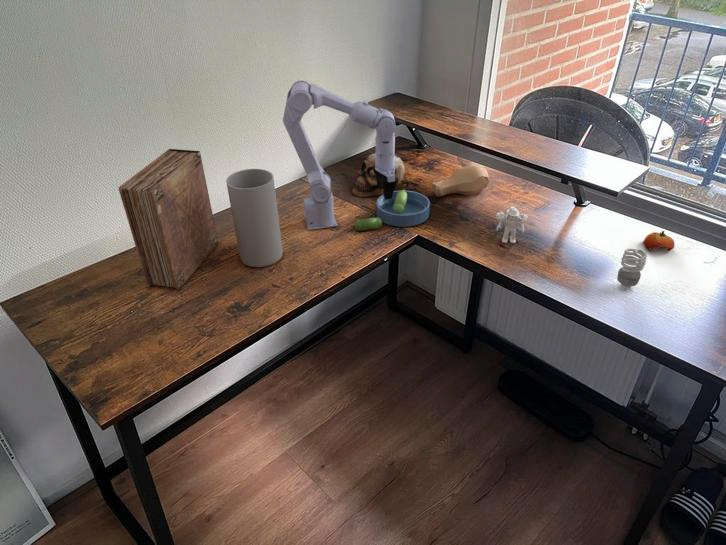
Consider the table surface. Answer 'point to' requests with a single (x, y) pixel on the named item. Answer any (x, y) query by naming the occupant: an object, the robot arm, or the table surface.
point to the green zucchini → (367, 224)
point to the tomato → (658, 241)
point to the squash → (463, 181)
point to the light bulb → (631, 268)
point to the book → (170, 217)
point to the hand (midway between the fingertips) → (384, 193)
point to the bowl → (412, 214)
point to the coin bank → (374, 177)
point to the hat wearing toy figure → (511, 222)
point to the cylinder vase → (255, 216)
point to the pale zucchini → (400, 201)
